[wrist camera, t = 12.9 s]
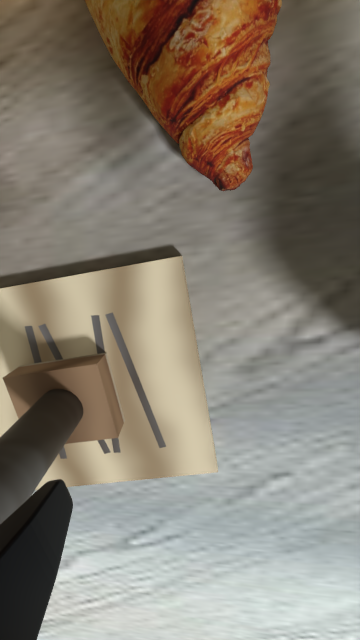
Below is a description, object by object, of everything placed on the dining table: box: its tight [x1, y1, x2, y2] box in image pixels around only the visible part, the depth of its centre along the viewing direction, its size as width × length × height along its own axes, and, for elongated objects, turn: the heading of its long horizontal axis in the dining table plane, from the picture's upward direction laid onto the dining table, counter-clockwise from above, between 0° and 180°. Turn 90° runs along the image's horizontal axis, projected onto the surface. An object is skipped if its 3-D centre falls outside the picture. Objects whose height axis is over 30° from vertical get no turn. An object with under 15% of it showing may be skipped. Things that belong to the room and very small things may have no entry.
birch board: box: [0, 256, 218, 490], centre depth 22 cm, size 24×18×1 cm
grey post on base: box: [0, 353, 125, 524], centre depth 15 cm, size 7×6×12 cm
